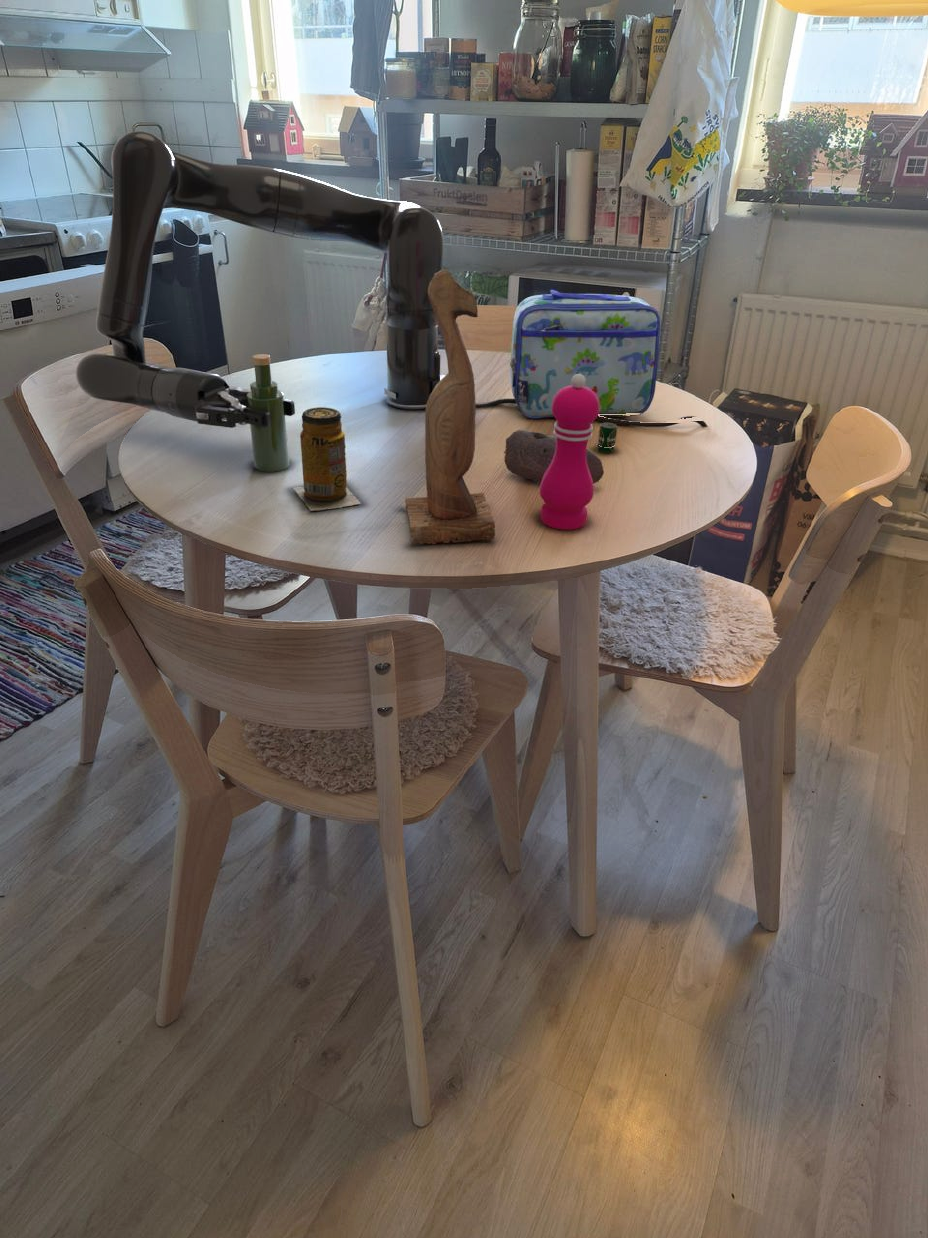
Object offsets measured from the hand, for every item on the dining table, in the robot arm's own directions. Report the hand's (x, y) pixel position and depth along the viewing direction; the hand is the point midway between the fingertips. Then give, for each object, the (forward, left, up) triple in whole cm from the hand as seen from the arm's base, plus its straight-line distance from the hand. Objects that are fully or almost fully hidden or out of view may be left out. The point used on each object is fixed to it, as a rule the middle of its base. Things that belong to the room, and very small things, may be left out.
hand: (280, 414), depth 120 cm
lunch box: (-54, -19, -9) cm, 58 cm away
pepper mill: (-36, +24, -9) cm, 44 cm away
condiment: (-5, +11, -9) cm, 15 cm away
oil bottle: (+2, -2, -9) cm, 9 cm away
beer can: (-52, 0, -9) cm, 53 cm away
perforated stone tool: (-39, +11, -9) cm, 42 cm away
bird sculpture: (-20, +23, -9) cm, 32 cm away
